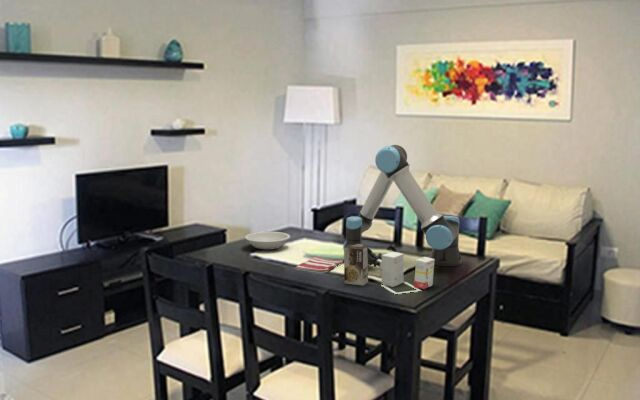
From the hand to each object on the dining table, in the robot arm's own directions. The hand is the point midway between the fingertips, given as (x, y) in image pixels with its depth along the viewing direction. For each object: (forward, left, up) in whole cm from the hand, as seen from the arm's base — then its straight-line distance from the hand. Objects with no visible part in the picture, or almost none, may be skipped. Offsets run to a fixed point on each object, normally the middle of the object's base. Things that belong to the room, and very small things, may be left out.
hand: (384, 265), depth 272 cm
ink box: (-10, +16, -6) cm, 20 cm away
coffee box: (+14, 0, -6) cm, 15 cm away
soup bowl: (+32, -74, -6) cm, 81 cm away
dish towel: (+18, -32, -7) cm, 37 cm away
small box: (0, +7, -6) cm, 10 cm away
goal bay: (0, +14, -6) cm, 15 cm away
